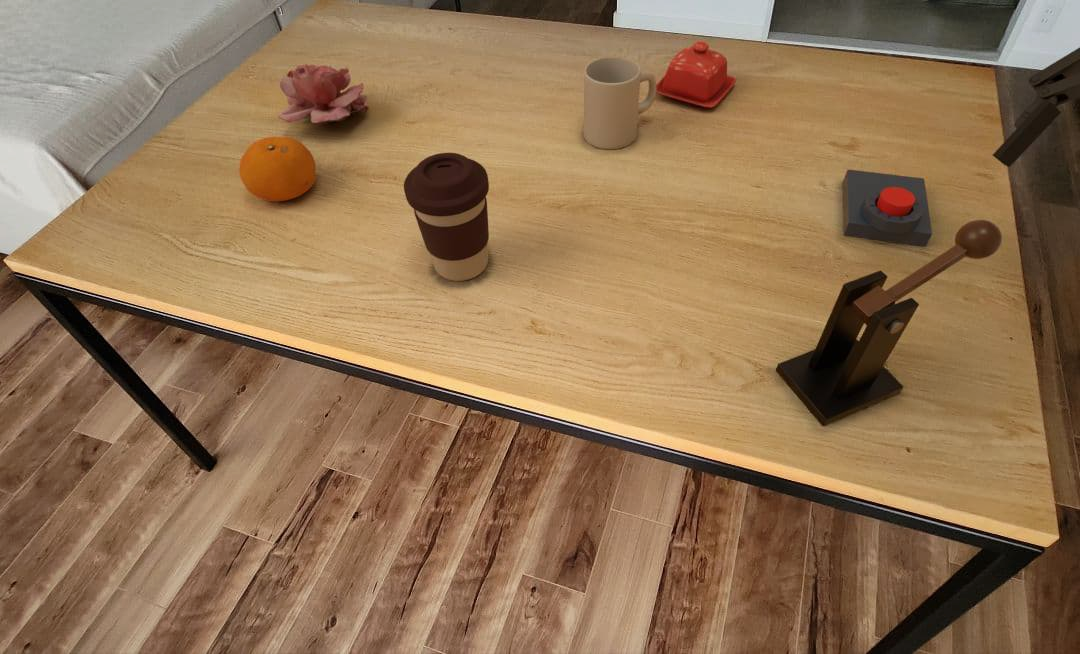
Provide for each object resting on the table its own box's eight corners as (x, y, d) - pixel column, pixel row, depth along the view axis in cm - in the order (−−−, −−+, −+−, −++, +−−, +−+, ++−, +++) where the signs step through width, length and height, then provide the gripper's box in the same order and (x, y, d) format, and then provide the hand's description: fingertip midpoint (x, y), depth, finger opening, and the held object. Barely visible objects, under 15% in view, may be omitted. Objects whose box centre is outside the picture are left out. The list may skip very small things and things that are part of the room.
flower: (355, 133, 102) (336, 67, 97) (273, 142, 105) (250, 79, 100) (388, 109, 114) (373, 50, 109) (314, 118, 117) (296, 61, 112)
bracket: (848, 341, 73) (892, 251, 63) (900, 393, 69) (956, 305, 58) (775, 370, 71) (808, 282, 61) (822, 426, 66) (867, 341, 56)
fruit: (304, 215, 94) (285, 169, 88) (239, 208, 95) (216, 163, 89) (333, 172, 100) (317, 127, 94) (272, 167, 102) (252, 122, 96)
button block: (926, 251, 82) (939, 227, 79) (843, 239, 85) (853, 216, 82) (918, 191, 90) (929, 167, 87) (842, 181, 93) (851, 158, 90)
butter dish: (738, 84, 112) (748, 35, 105) (711, 115, 106) (719, 66, 99) (678, 69, 116) (683, 21, 110) (648, 98, 110) (652, 50, 104)
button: (911, 219, 81) (916, 208, 80) (877, 214, 82) (881, 203, 81) (908, 200, 84) (913, 189, 82) (875, 195, 85) (880, 185, 83)
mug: (598, 155, 100) (599, 89, 92) (574, 128, 105) (574, 64, 97) (665, 135, 103) (672, 69, 94) (639, 110, 108) (643, 46, 100)
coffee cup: (474, 299, 81) (457, 203, 70) (409, 276, 84) (383, 182, 73) (512, 250, 86) (501, 155, 75) (449, 231, 90) (430, 137, 78)
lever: (978, 227, 62) (981, 205, 59) (1009, 250, 60) (1014, 228, 57) (849, 311, 64) (847, 293, 61) (875, 336, 61) (874, 319, 59)
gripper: (1479, 42, 46) (1200, 273, 56) (1142, -33, 64) (975, 151, 74) (1472, -10, 42) (1174, 248, 52) (1116, -74, 60) (943, 126, 70)
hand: (1056, 192), depth 63 cm, fingers open, 13 cm apart
